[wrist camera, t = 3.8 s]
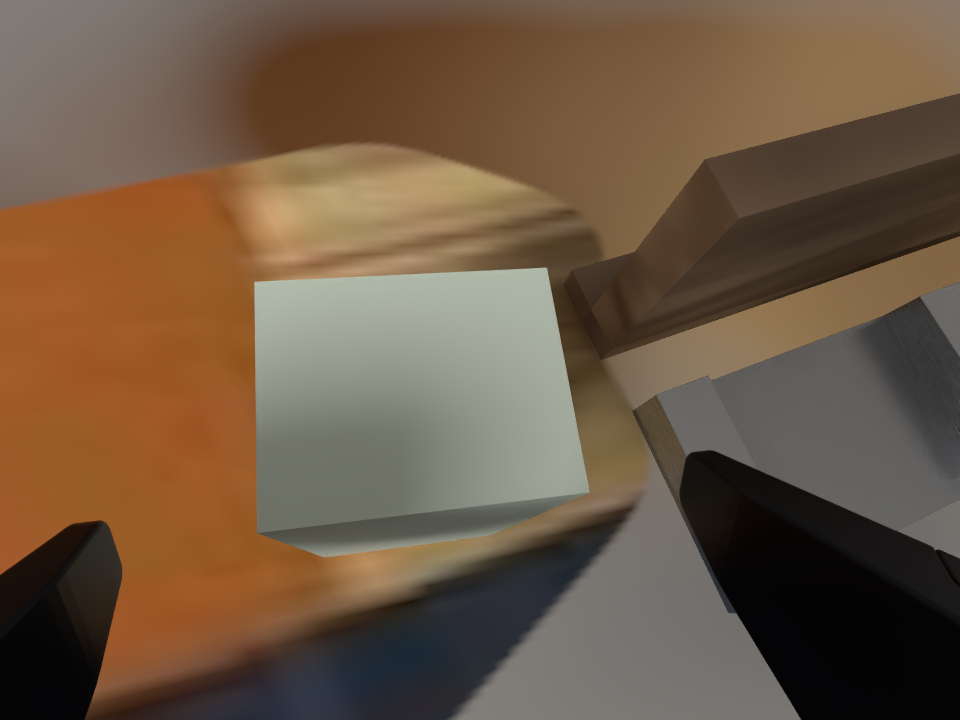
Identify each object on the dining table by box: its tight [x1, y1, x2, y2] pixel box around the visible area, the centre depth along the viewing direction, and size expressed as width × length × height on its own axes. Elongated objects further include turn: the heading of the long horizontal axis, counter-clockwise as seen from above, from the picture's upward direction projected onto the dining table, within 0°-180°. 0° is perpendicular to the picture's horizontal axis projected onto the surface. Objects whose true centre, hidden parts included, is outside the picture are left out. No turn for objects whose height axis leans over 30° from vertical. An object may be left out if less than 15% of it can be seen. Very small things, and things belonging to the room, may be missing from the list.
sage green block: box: [255, 268, 590, 557], centre depth 14 cm, size 4×6×10 cm
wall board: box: [565, 94, 960, 360], centre depth 20 cm, size 3×18×9 cm, turn 111°
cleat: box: [632, 282, 960, 613], centre depth 21 cm, size 7×14×2 cm, turn 111°
